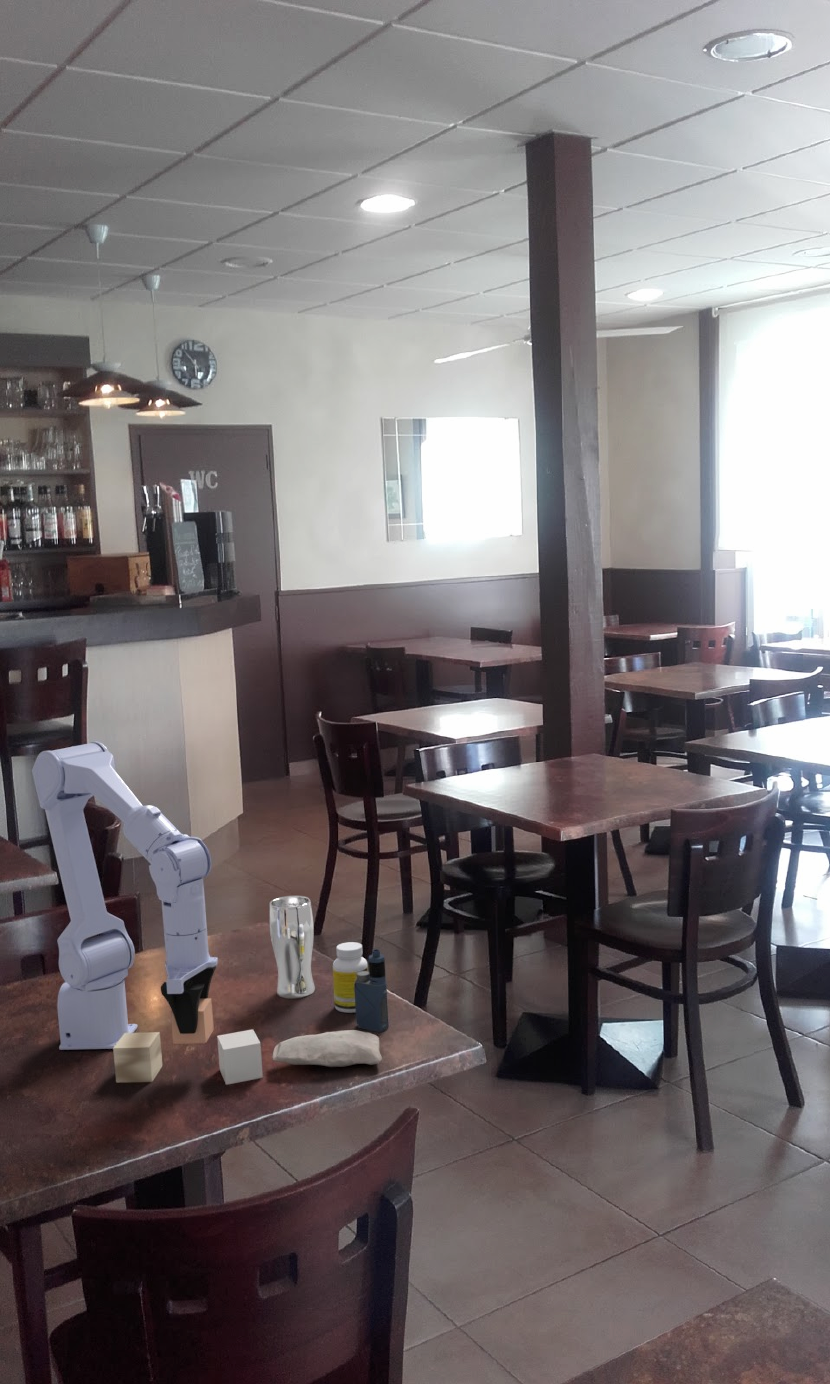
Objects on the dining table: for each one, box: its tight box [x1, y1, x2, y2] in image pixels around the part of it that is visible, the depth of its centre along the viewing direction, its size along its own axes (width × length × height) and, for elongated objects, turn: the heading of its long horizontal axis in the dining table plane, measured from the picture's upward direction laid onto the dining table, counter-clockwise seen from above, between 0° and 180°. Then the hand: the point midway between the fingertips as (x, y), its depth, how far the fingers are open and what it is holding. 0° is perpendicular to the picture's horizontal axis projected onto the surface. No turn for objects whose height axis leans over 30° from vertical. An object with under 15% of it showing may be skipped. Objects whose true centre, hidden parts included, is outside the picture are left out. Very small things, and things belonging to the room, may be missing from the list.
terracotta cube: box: [170, 997, 215, 1045], centre depth 162 cm, size 4×4×4 cm
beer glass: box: [269, 895, 316, 999], centre depth 190 cm, size 7×7×15 cm
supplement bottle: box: [332, 941, 369, 1014], centre depth 183 cm, size 5×5×10 cm
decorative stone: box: [272, 1029, 383, 1068], centre depth 164 cm, size 10×4×15 cm
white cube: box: [216, 1028, 264, 1085], centre depth 162 cm, size 5×5×5 cm
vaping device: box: [354, 948, 389, 1033], centre depth 174 cm, size 3×5×12 cm, turn 58°
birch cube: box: [112, 1031, 163, 1083], centre depth 163 cm, size 5×5×5 cm
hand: (192, 1025), depth 162 cm, fingers closed on terracotta cube, 4 cm apart
